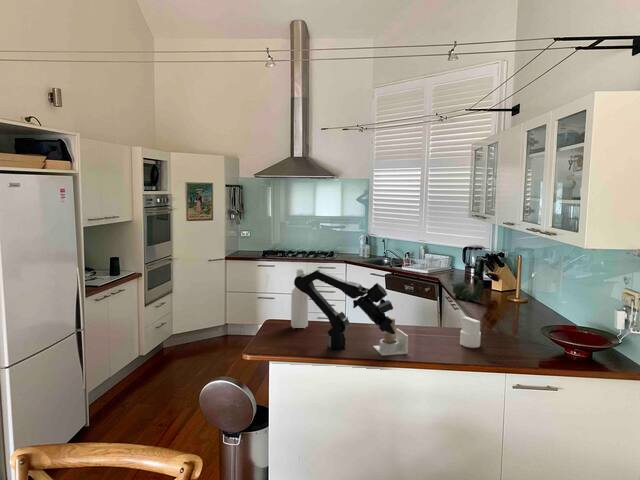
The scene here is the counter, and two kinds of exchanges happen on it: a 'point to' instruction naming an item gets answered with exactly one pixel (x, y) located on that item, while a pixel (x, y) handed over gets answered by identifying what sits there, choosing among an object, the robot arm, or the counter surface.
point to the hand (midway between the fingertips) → (392, 332)
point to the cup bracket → (394, 345)
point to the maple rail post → (388, 336)
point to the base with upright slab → (470, 332)
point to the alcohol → (299, 306)
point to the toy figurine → (462, 290)
